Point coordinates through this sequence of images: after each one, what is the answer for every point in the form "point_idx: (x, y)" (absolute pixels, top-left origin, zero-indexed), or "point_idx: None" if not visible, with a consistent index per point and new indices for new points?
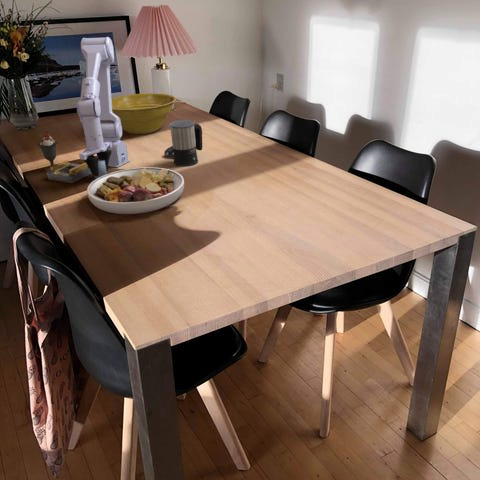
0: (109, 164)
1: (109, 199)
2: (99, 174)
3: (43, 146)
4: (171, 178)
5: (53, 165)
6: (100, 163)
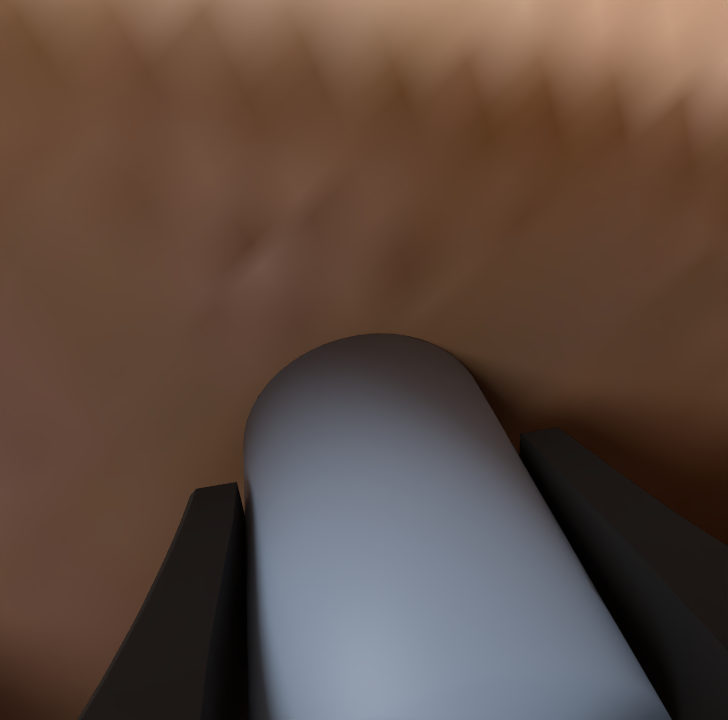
0: None
1: None
2: (506, 439)
3: None
4: None
5: None
6: (583, 657)
